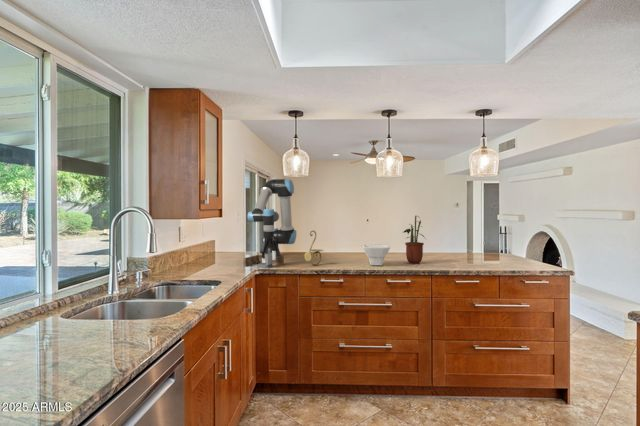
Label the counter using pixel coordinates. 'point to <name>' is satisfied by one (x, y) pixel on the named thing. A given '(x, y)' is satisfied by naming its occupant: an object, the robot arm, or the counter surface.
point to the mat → (268, 267)
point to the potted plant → (414, 246)
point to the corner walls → (258, 259)
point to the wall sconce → (308, 254)
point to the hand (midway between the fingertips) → (269, 261)
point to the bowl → (376, 253)
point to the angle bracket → (267, 261)
